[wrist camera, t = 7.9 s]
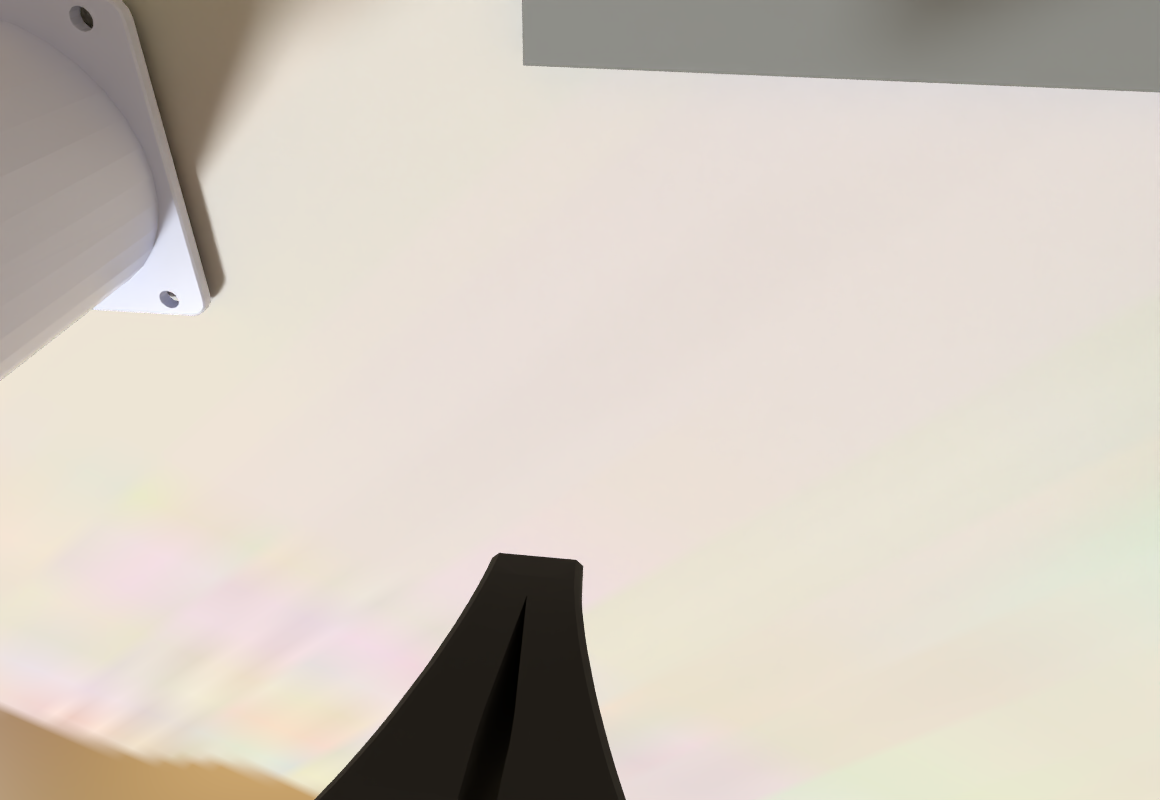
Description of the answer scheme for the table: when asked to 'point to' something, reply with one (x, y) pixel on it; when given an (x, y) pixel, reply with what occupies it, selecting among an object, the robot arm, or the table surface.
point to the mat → (859, 39)
